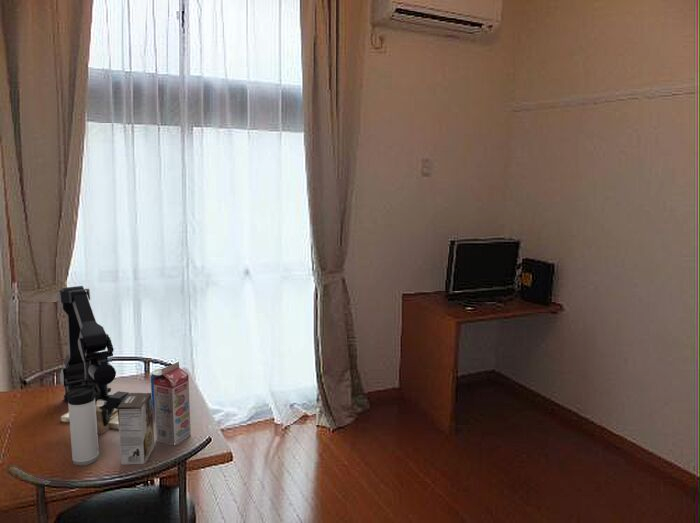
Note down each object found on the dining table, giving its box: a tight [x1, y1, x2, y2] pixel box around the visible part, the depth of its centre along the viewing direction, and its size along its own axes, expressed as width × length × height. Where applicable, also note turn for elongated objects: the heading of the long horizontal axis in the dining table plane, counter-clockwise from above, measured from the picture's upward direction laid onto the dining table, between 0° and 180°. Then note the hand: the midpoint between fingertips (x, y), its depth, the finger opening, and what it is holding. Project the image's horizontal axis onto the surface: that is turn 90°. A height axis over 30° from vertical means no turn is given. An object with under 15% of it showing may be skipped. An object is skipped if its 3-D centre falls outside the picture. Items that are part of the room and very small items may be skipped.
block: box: [96, 406, 118, 435], centre depth 158 cm, size 4×12×7 cm, turn 167°
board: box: [60, 404, 119, 430], centre depth 162 cm, size 22×10×2 cm, turn 77°
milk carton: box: [153, 361, 192, 447], centre depth 149 cm, size 7×7×22 cm
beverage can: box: [150, 368, 162, 409], centre depth 170 cm, size 6×6×12 cm
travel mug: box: [67, 383, 100, 466], centre depth 137 cm, size 6×7×20 cm
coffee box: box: [117, 392, 155, 465], centre depth 140 cm, size 9×6×16 cm
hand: (99, 424), depth 154 cm, fingers closed on block, 4 cm apart
